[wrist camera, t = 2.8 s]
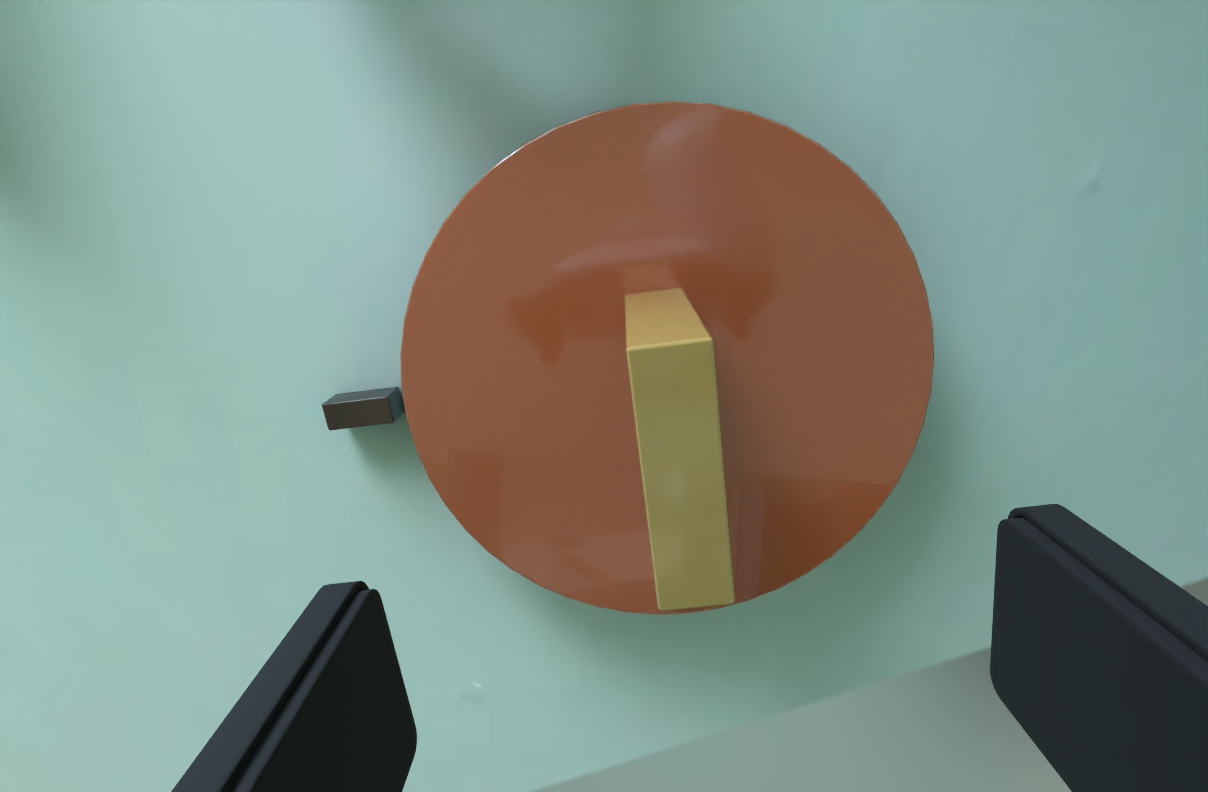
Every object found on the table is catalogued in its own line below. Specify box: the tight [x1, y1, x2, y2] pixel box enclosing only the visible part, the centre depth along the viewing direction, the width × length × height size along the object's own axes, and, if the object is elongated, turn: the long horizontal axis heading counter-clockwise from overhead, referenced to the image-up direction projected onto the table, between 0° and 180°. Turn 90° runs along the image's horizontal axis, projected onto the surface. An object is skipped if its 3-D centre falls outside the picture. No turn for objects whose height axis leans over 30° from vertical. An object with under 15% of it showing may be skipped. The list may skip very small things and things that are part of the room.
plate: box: [400, 101, 934, 614], centre depth 18 cm, size 17×17×8 cm
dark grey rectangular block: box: [322, 387, 404, 430], centre depth 23 cm, size 17×10×2 cm, turn 98°
